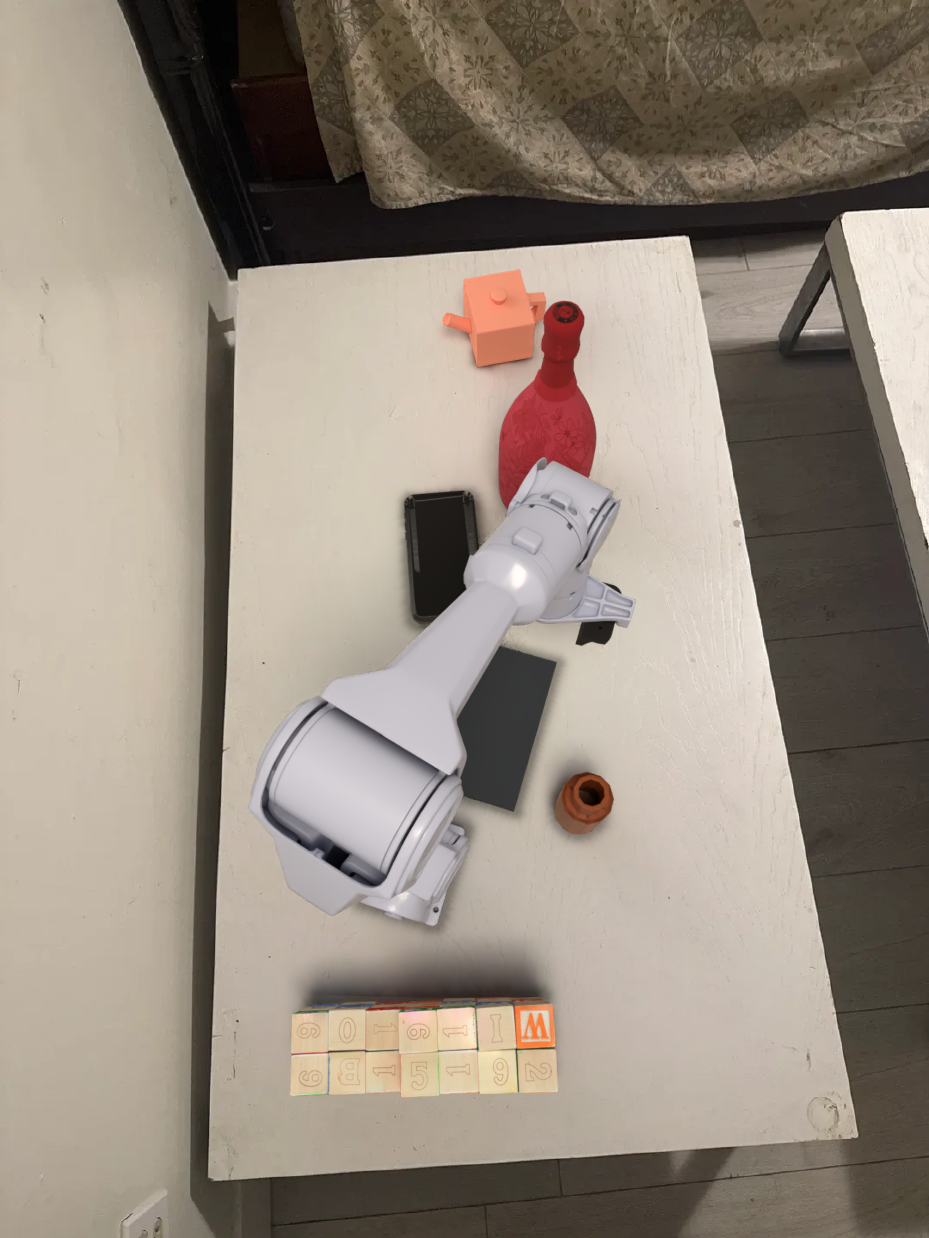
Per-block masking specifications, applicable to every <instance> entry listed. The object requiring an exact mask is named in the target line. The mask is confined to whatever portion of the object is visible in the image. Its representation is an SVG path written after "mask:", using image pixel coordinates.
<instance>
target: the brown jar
mask: <svg viewBox="0 0 929 1238" xmlns="http://www.w3.org/2000/svg"><path fill="white" fill-rule="evenodd" d="M614 801H615V797H614V793H613V790H612V787H611V785H610V784H609V782H608V781H606V779H604V778H603V777H602V776H601V775H600V774H598V773H597V774H596V773H592V772H590V771H585V772H579V773H575V774H573V775H572V776H571V777H570V778H569V779H568V780H567V781H565V783H564V784H563V786H562V788H561V790H560V791H559V794H558V796H557V797H556V800H555V804H554V808H553V810H554V815H555V818H556V821H557V823H558V824H559V826H560V827H561V828H562V829H564V830H565V831H566V832H568V833H569V834H570V833H571V834H574V835H579V836H580V835H584V834H588V833H591V832H593V831H594V829H596V828H597V827H598V826H599V825H600V824H601V823H602V822H603V821H604V820H605V819H606V818H607V817H608V816H609V815H610V814H611V813H612V810H613V804H614Z"/></svg>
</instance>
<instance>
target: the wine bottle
mask: <svg viewBox="0 0 929 1238" xmlns="http://www.w3.org/2000/svg"><path fill="white" fill-rule="evenodd" d="M585 318H586V316H585V315H584V313H583V310H582V309H581V308H580V306H579V305H578V304H577V303H575V302H573V301H570V300H559V301H555V302H553V303H552V304H550V305H549V307H548V308H547V309H546V310H545V314H544V319H543V320H542V321H543V322H542V323H543V335H542V337H541V339H540V340H541V341H540V350H541V351H542V353H543V357H542V362H541V367H540V368H539V369H538V370H537V372H536V375H535V377H534V379H533V380H531V381H532V382H530V383H529V384H528V385H527V386H525V388H524V389H523V390H522V391H521V392H520V393H519V394H518V395H517V396H516V398H515V399H514V401H513V402H512V403H511V405H510V406H509V408H508V410H507V412H506V414H505V416H504V418H503V421H502V423H501V427H500V432H499V437H498V438H499V439H498V441H499V442H498V454H497V455H498V462H497V463H498V465H497V466H498V467H497V469H498V470H497V471H498V490H499V495H500V498H501V501H502V503H503V505H504V507H505V508H506V511H507V510H508V507H509V504H510V502H511V501H512V499H513V497H514V496H515V495H516V494H517V492H518V490H519V488H520V486H521V484H522V482H523V481H524V479H525V478H526V476H527V475H528V473H529V472H530V470H531V469H532V467H533V466H534V465H535V464H536V463H537V462H538V461H539V460H540V459H541V458H543V457H545V458H546V459H547V465H548V464H549V463H550V462H552V461H556V462H558V463H559V464H561V465H563V466H565V467H567V468H569V469H571V470H573V471H575V472H577V473H579V474H581V475H583V476H585V477H587V478H589V479H590V474H591V471H592V467H593V464H594V459H595V454H596V449H597V448H596V447H597V426H596V422H595V418H594V414H593V412H592V409H591V407H590V404H589V402H588V401H587V398H586V397H585V394H584V393H583V392H582V390H581V389H580V387H579V385H578V379H577V376H576V374H575V359H576V357H577V356H578V355H579V351H580V348H581V335H582V333H583V332H582V331H583V329H584V327H585V320H586V319H585Z"/></svg>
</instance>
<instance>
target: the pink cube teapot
mask: <svg viewBox="0 0 929 1238" xmlns="http://www.w3.org/2000/svg"><path fill="white" fill-rule="evenodd" d="M462 283H463V284H462V285H463V286H462V289H463V291H462V292H463V316H461V315H457V314H454V313H451V312H445V313H444V314H443V317H442V320H441V321H442V325H443V326H444V327H447V328H450V329H453V330H457V331H459V332H464V333H467V334H468V336H469V339H470V345H471V348H472V352H473V356H474V360H475V364H476V367H477V368H479V367H486V366H491V365H496V364H502V363H507V362H513V361H519V360H523V359H529V358H533V353H534V342H535V341H534V340H535V330H536V324H537V323H539V322H540V321H543V319H544V315H545V312H546V307H547V298H546V295H545V292H544V291H540V292H527V290H526V289H527V288H526V287H525V282H524V279H523V276H522V272H521V269H520V268H518V269H515V270H514V269H513V270H507V271H502V272H496V273H490V274H485V275H480V276H473V277H468V278H464V279H462Z"/></svg>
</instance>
